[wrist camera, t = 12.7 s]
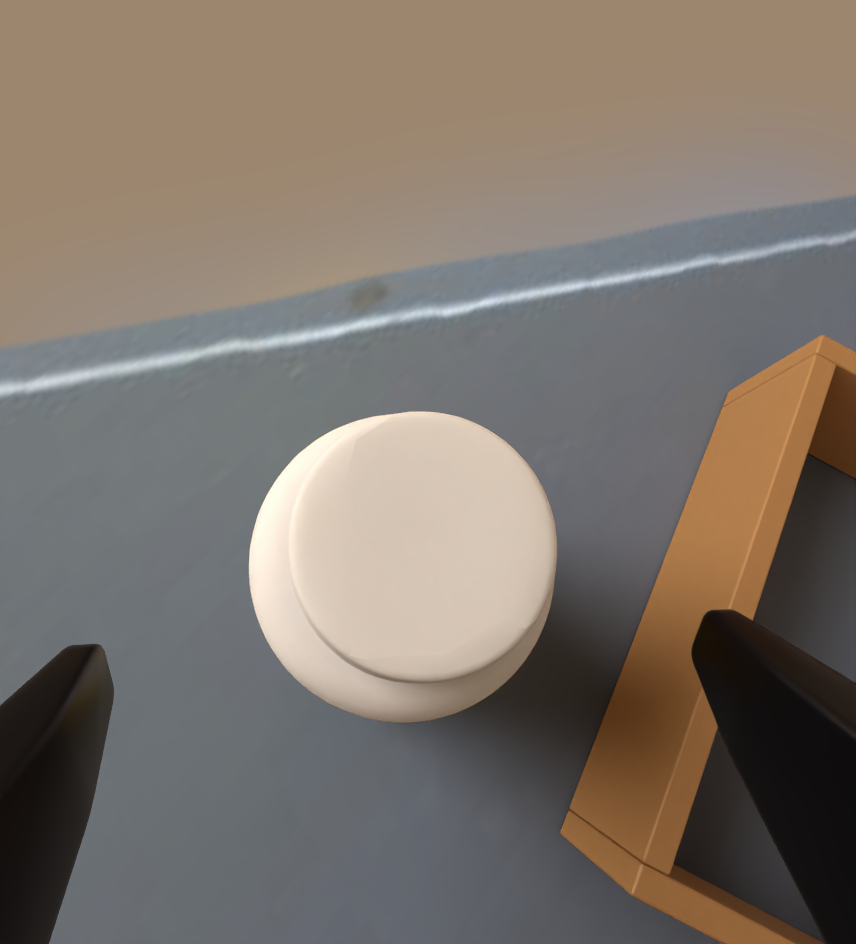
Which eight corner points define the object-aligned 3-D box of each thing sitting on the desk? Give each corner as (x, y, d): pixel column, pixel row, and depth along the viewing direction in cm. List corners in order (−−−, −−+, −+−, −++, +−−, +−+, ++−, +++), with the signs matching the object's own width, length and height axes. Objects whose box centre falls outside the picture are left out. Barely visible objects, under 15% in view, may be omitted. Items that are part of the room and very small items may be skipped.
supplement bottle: (499, 634, 19) (681, 633, 9) (328, 724, 18) (327, 835, 8) (419, 469, 20) (506, 310, 10) (250, 543, 19) (163, 443, 9)
